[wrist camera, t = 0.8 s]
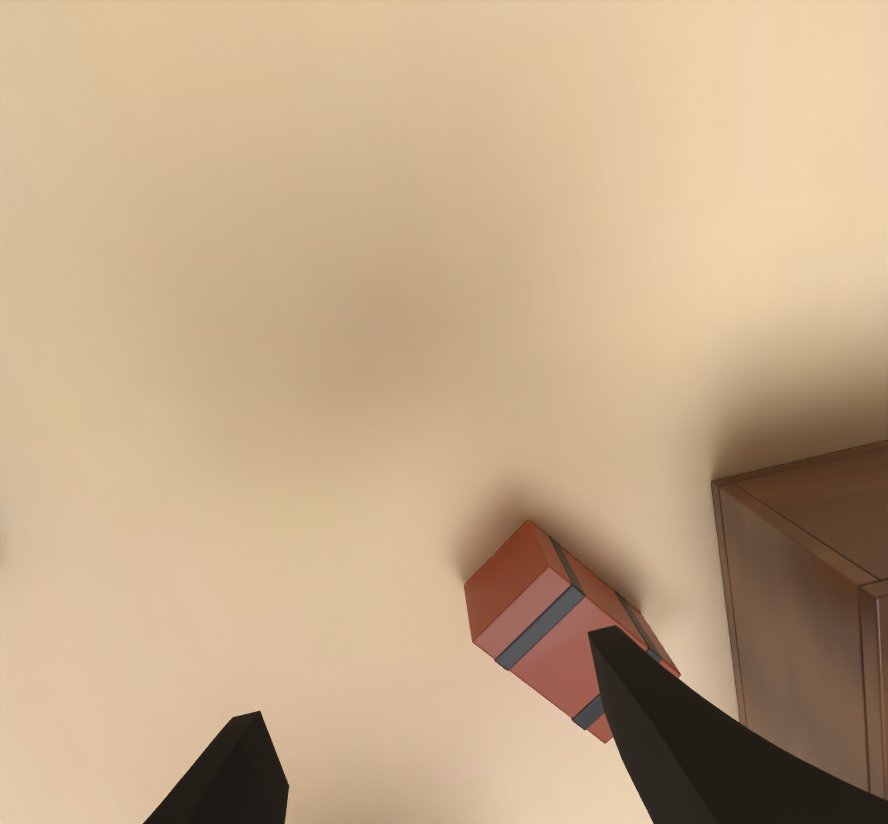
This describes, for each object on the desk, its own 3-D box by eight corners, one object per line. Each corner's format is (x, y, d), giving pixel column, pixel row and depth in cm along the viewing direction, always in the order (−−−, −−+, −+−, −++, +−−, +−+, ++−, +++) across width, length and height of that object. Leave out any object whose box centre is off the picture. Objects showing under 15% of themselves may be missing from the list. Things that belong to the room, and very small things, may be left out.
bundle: (643, 614, 23) (683, 676, 20) (577, 676, 24) (605, 747, 20) (529, 518, 22) (550, 565, 18) (462, 585, 23) (470, 644, 19)
